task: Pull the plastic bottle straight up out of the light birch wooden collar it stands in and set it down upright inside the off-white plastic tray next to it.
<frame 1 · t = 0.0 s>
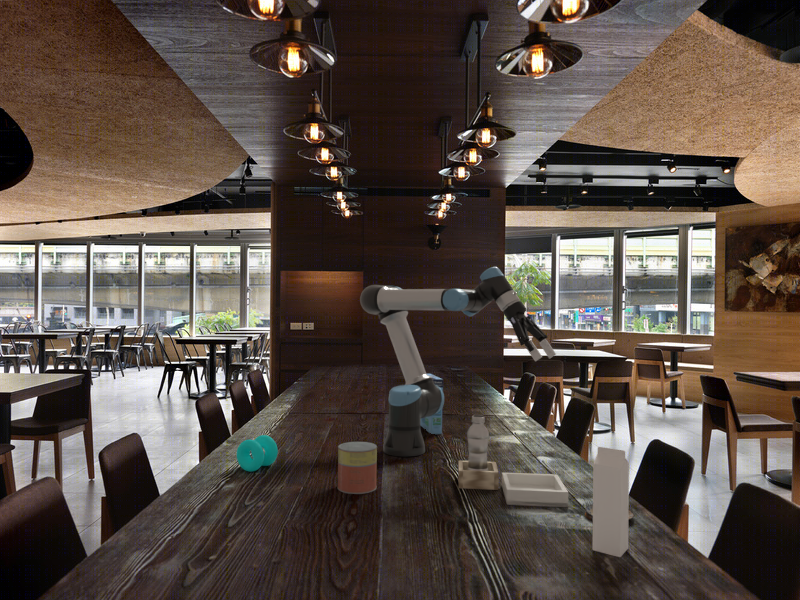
hand: (546, 357, 193), 36 cm above the table, tool tilted 35°, fingers open, 13 cm apart
plastic bottle: (477, 483, 172), resting in wooden collar
plastic tray: (533, 496, 161), on the table
turquoise yo-yo: (257, 469, 184), on the table
milk: (610, 550, 126), on the table
wooden collar: (477, 483, 172), on the table
canned food: (357, 488, 166), on the table
patterned ceramic bowl: (609, 519, 145), on the table
gum box: (430, 430, 246), on the table
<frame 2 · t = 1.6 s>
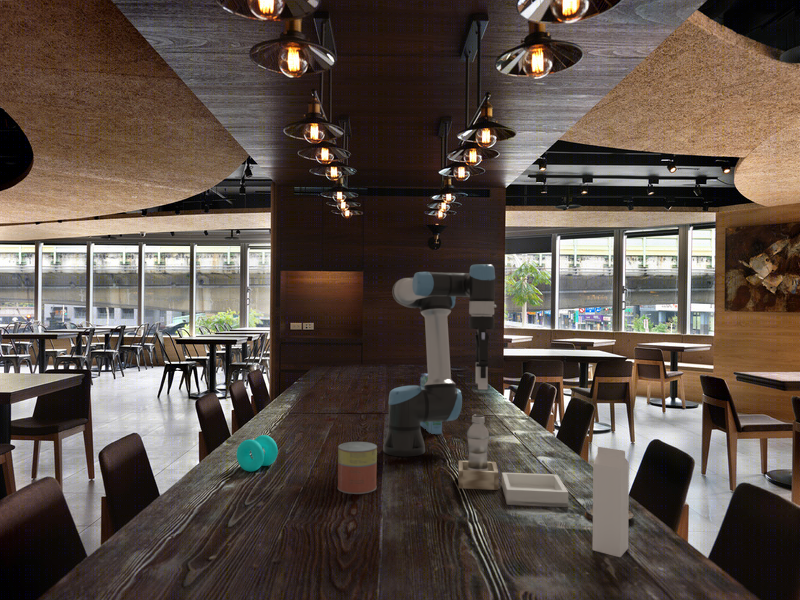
hand: (481, 386, 173), 29 cm above the table, tool pointing down, fingers open, 13 cm apart
nothing on the table moved.
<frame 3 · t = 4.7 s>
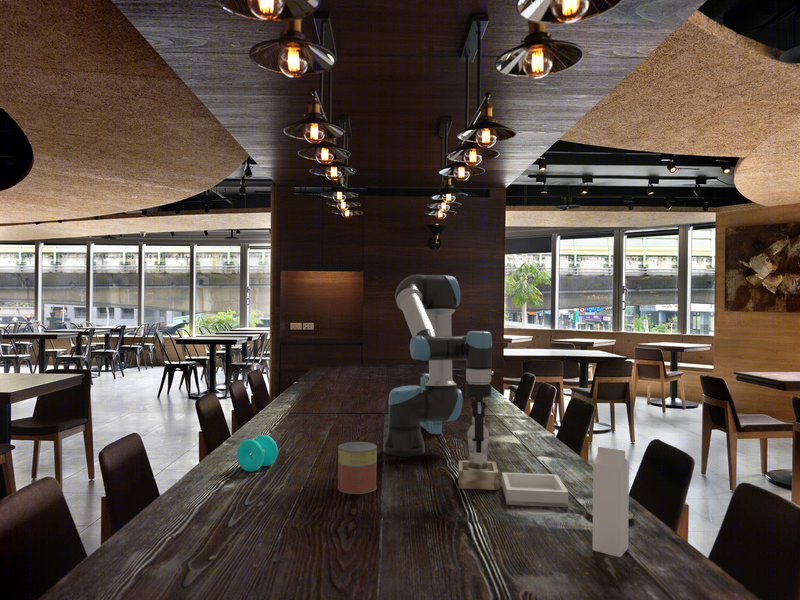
hand: (477, 459, 172), 7 cm above the table, tool pointing down, fingers closed on plastic bottle, 6 cm apart
plastic bottle: (477, 483, 172), resting in wooden collar, touching gripper
everything else where it was.
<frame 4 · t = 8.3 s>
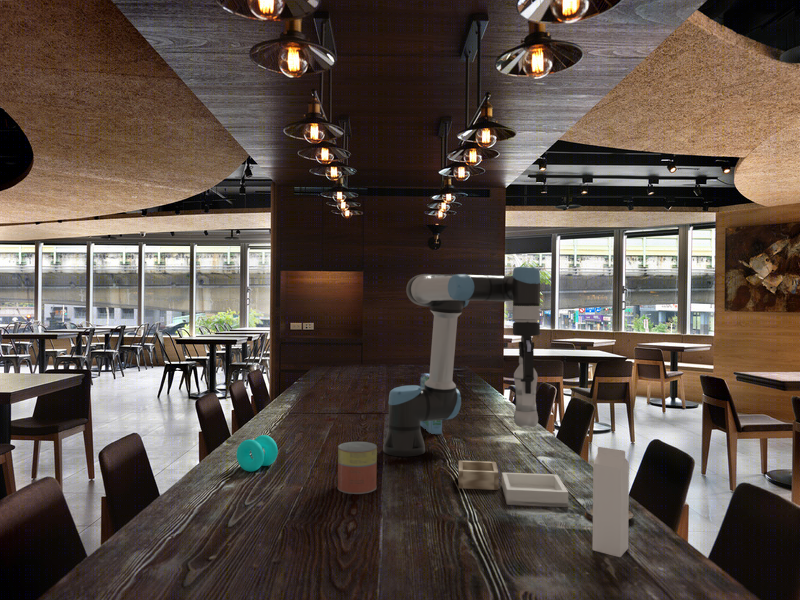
hand: (526, 403, 162), 26 cm above the table, tool pointing down, fingers closed on plastic bottle, 6 cm apart
plastic bottle: (525, 428, 162), point 19 cm above the table, touching gripper
everything else where it was.
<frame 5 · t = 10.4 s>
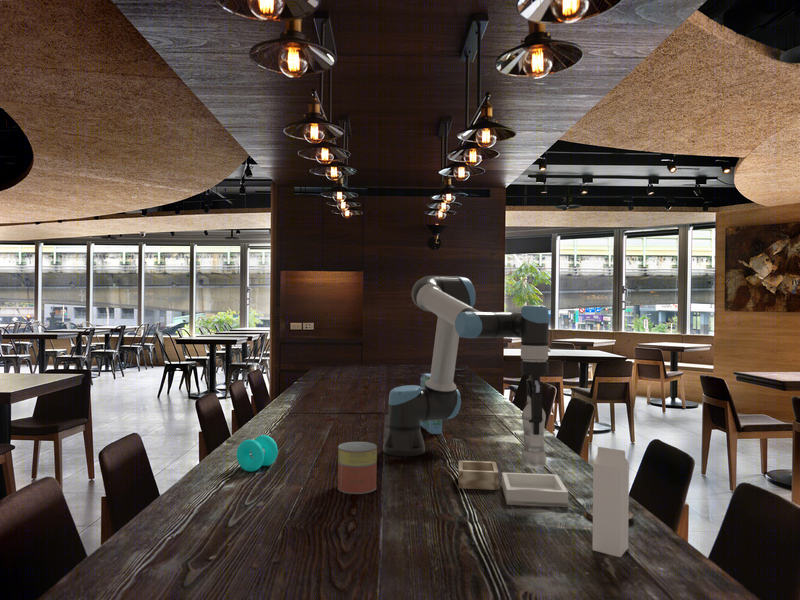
hand: (533, 443, 161), 15 cm above the table, tool pointing down, fingers closed on plastic bottle, 6 cm apart
plastic bottle: (533, 468, 161), point 8 cm above the table, touching gripper
everything else where it was.
when the fingers open (10 cm above the table, at t = 12.1 s): plastic bottle drops 2 cm, resting on plastic tray.
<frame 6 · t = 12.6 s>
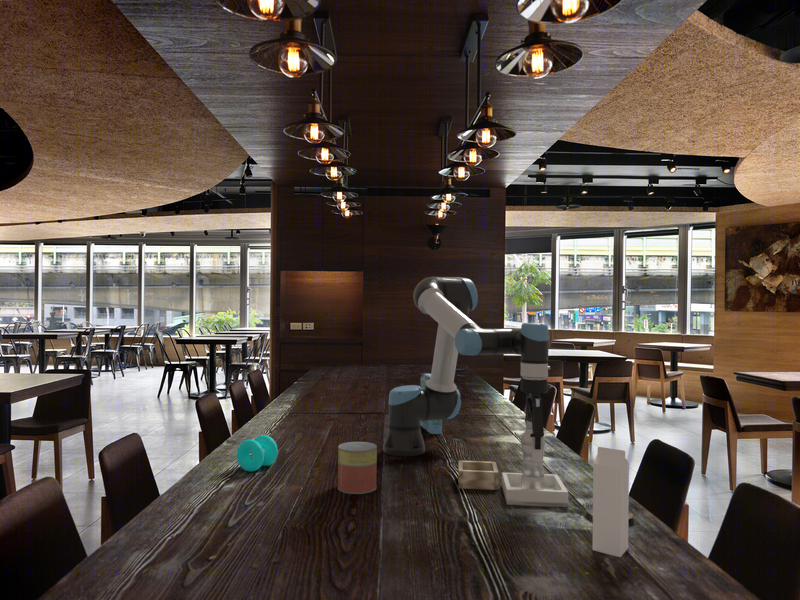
hand: (533, 454, 161), 12 cm above the table, tool pointing down, fingers open, 12 cm apart
plastic bottle: (533, 492, 161), point 1 cm above the table, touching plastic tray
everything else where it was.
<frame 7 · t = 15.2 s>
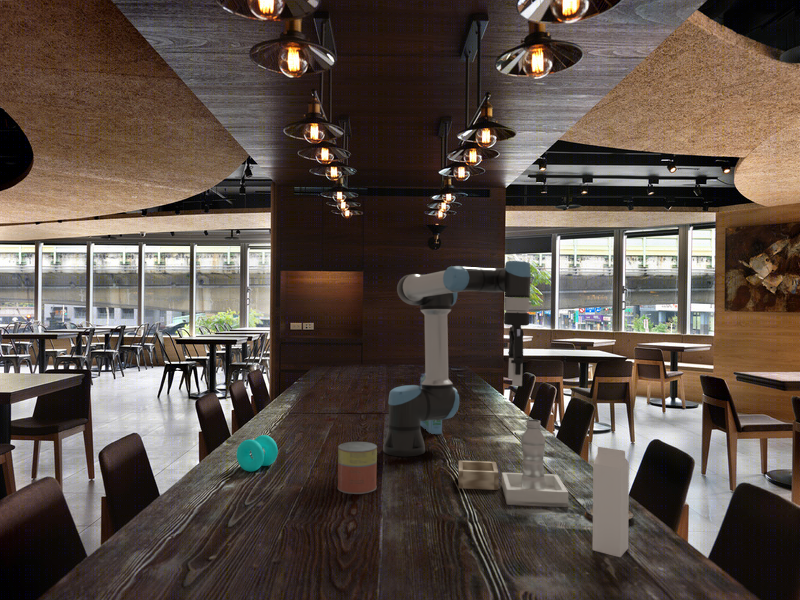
hand: (514, 382, 174), 30 cm above the table, tool pointing down, fingers open, 13 cm apart
nothing on the table moved.
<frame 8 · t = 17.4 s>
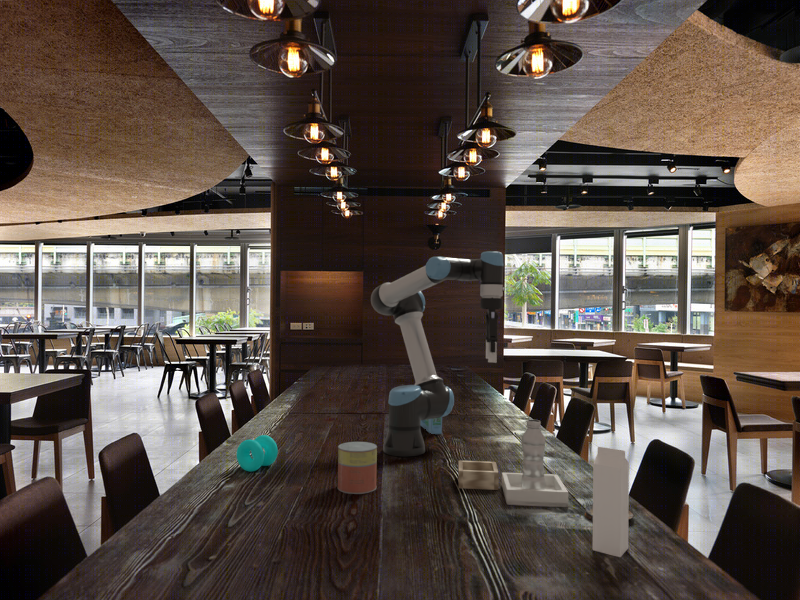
hand: (490, 360, 194), 35 cm above the table, tool pointing down, fingers open, 13 cm apart
nothing on the table moved.
at the end: plastic bottle inside the target area on the plastic tray (0.0 cm from its centre), point 0.8 cm above the plastic tray's base; plastic bottle tilted 0°; the gripper is holding nothing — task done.
